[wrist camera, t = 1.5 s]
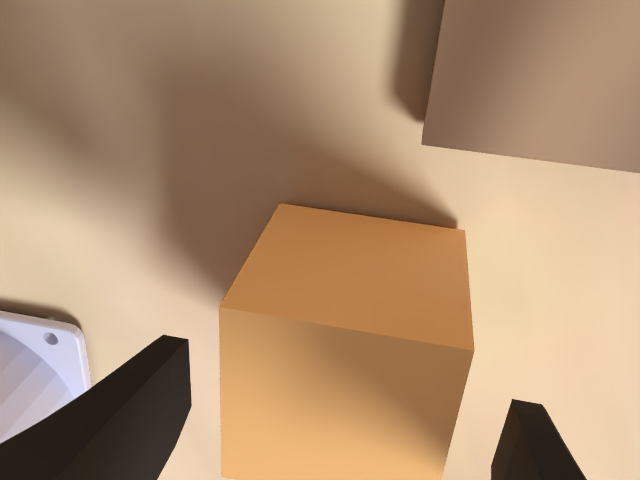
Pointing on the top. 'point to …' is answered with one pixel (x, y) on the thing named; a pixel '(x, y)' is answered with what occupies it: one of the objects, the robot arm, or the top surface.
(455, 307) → the orange cube
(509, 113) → the brown rectangular slab
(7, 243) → the top surface
